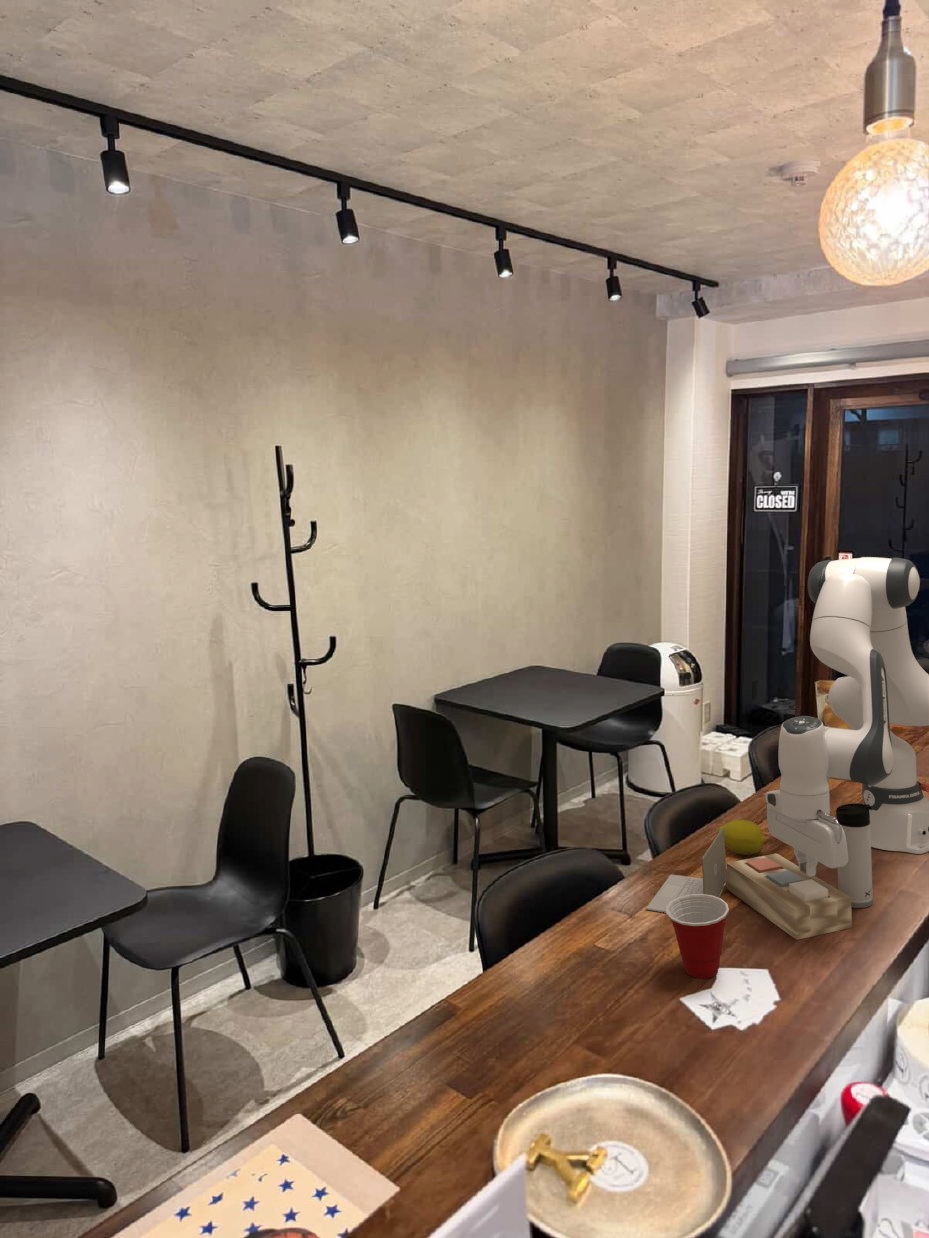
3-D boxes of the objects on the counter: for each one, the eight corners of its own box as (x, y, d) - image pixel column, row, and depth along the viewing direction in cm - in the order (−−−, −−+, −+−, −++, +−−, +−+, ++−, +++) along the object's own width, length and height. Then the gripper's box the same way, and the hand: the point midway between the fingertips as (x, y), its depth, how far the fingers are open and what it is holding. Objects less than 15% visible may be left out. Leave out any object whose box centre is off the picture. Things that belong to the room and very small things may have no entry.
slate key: (789, 884, 180) (788, 870, 180) (804, 893, 175) (803, 879, 175) (767, 888, 179) (766, 874, 178) (782, 898, 174) (781, 883, 174)
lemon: (773, 852, 205) (771, 819, 204) (757, 863, 200) (755, 829, 199) (730, 843, 213) (728, 811, 212) (713, 853, 207) (712, 821, 206)
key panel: (777, 879, 190) (776, 853, 190) (852, 927, 167) (851, 897, 166) (727, 889, 187) (726, 862, 187) (796, 939, 164) (795, 909, 164)
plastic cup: (656, 965, 159) (653, 902, 158) (705, 949, 163) (702, 888, 162) (694, 993, 149) (691, 926, 148) (745, 975, 153) (742, 910, 152)
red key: (768, 871, 187) (767, 857, 187) (781, 879, 182) (781, 865, 182) (747, 875, 186) (746, 861, 186) (760, 884, 181) (759, 870, 181)
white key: (811, 893, 173) (811, 879, 172) (828, 904, 168) (827, 889, 167) (789, 898, 171) (788, 883, 171) (805, 908, 167) (804, 893, 166)
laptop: (670, 877, 197) (667, 821, 195) (727, 884, 191) (724, 826, 189) (645, 911, 181) (641, 850, 180) (707, 921, 175) (703, 858, 174)
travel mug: (878, 908, 174) (875, 810, 171) (842, 908, 175) (839, 811, 173) (870, 895, 180) (867, 800, 177) (835, 894, 181) (832, 800, 179)
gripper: (855, 817, 158) (858, 891, 159) (787, 786, 178) (790, 852, 179) (825, 822, 156) (827, 897, 158) (759, 791, 176) (762, 857, 178)
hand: (807, 873), depth 169 cm, fingers closed
